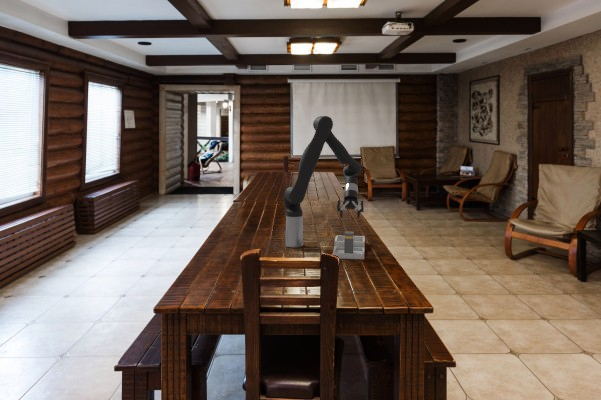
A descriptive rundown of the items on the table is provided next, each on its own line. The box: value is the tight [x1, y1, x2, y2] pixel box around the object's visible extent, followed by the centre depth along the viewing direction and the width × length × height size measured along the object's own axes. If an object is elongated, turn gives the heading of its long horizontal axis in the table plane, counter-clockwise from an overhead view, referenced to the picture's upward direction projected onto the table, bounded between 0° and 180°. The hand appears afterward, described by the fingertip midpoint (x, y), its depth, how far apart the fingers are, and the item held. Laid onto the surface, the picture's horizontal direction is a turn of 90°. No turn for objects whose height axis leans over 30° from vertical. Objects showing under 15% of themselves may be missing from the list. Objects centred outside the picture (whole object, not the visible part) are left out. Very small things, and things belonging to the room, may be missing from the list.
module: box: [344, 230, 355, 254], centre depth 255 cm, size 4×5×11 cm
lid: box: [332, 246, 365, 260], centre depth 256 cm, size 16×14×2 cm
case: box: [334, 235, 366, 249], centre depth 270 cm, size 16×16×5 cm
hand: (349, 217), depth 262 cm, fingers open, 8 cm apart
